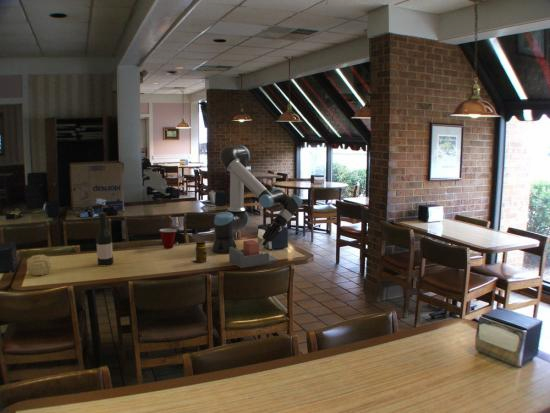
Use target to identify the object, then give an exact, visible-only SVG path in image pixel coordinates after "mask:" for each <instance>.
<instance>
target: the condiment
mask: <svg viewBox="0 0 550 413" xmlns="http://www.w3.org/2000/svg"><path fill="white" fill-rule="evenodd" d="M195 244H196V245H195V260H190V262H191V263H193V264H195V265H199V264H206V263H205V262H207V263H209V262H210V261H209V260H208V258H207V246H206V245H207V244H206V241H205V240H198V241H196V243H195Z"/></svg>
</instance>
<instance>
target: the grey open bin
mask: <svg viewBox="0 0 550 413" xmlns="http://www.w3.org/2000/svg"><path fill="white" fill-rule="evenodd" d="M228 260H229V261H228V262H229V263H231V262H232V263H231V264H233V263H234V264H233V265H235V264H236V265H238V266H239V267H240V269H246V268H251V267H257V266H261V265H268V264H272V263H278V262H279V259H278V258H276V257H274V256H273V255H270V253H269V252H260V253H259V254H255V255H249V256H244V253H243V248H242V249H235V248H234V247H229V253H228ZM236 265H235V266H236ZM238 266H237V267H238ZM239 267H238V268H239Z"/></svg>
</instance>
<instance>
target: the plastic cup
mask: <svg viewBox="0 0 550 413" xmlns="http://www.w3.org/2000/svg"><path fill="white" fill-rule="evenodd" d="M159 233H160V237H161V242H162V245H163V249H166V250H169V249H170V250H171V249H173V248H174V244H175V239H176V238H175V237H176V233H177V229H176V228H161V229H159Z"/></svg>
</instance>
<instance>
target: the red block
mask: <svg viewBox="0 0 550 413" xmlns="http://www.w3.org/2000/svg"><path fill="white" fill-rule="evenodd" d="M242 242H243V245H242V247H243V248H242V249H243V253H244V256H249V255H255V254H260V250H259V244H260V242H257V241H255V240H253V239H251V240H250V239H249V240H243V241H242Z"/></svg>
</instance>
